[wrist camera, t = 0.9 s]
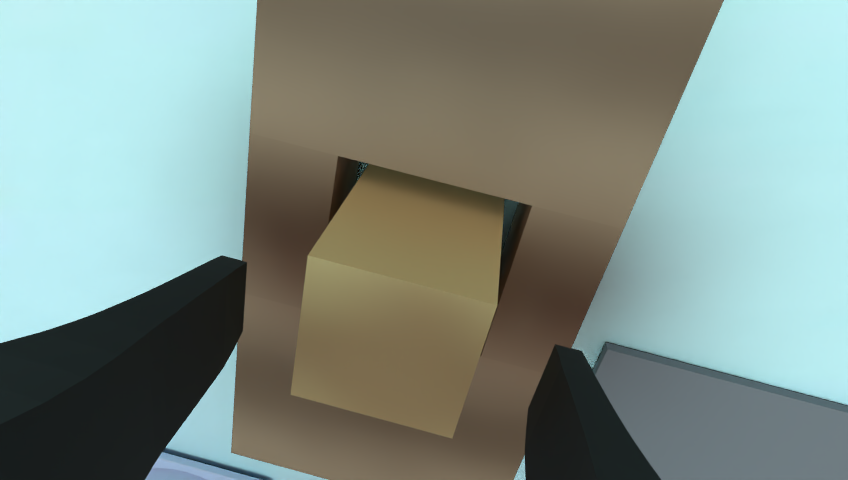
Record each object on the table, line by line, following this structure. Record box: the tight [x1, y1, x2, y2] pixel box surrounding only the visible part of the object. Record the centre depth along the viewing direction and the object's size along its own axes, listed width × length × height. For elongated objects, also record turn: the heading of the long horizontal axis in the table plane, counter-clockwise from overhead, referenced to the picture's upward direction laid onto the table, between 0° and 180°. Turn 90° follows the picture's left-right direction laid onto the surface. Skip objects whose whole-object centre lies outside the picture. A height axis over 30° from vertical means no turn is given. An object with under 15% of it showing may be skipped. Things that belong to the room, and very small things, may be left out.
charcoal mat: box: [593, 342, 848, 480], centre depth 22 cm, size 10×10×1 cm
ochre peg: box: [290, 164, 505, 438], centre depth 16 cm, size 4×4×7 cm
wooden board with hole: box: [231, 0, 724, 480], centre depth 17 cm, size 20×10×3 cm, turn 168°
